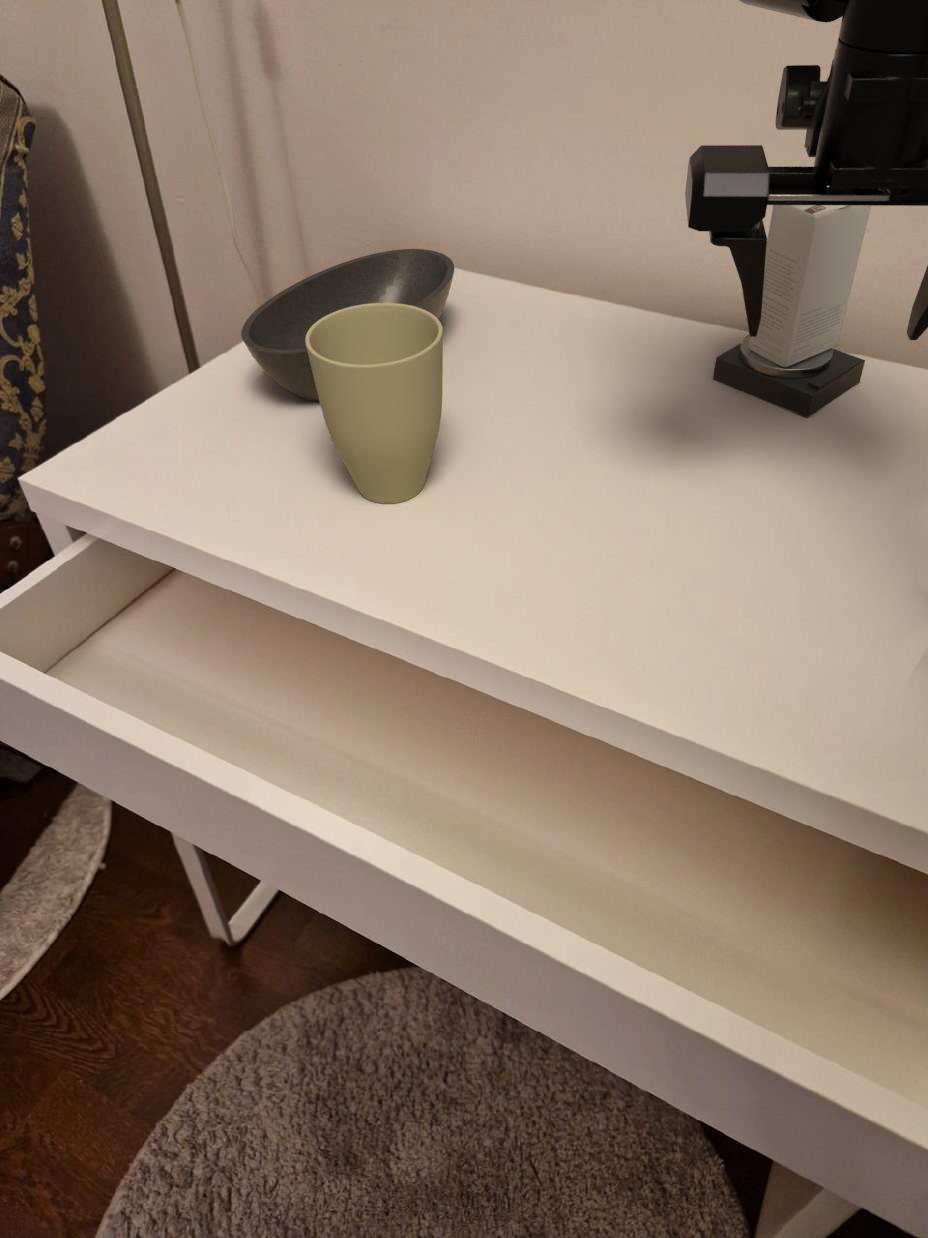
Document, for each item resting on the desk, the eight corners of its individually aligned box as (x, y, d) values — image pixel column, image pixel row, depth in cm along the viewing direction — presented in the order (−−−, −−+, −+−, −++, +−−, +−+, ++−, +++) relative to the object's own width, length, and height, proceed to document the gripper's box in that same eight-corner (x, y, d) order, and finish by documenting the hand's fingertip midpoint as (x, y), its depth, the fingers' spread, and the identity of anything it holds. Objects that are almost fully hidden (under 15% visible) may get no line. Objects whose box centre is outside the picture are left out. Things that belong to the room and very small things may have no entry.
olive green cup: (484, 470, 72) (479, 318, 64) (395, 537, 67) (377, 380, 59) (377, 425, 77) (360, 279, 69) (286, 483, 72) (256, 332, 64)
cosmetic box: (798, 328, 80) (829, 176, 72) (840, 349, 78) (878, 193, 69) (743, 350, 78) (769, 195, 70) (785, 372, 75) (817, 213, 67)
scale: (859, 382, 79) (868, 350, 77) (807, 418, 75) (814, 386, 74) (765, 346, 84) (771, 316, 82) (712, 379, 80) (717, 348, 79)
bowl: (220, 397, 82) (204, 329, 78) (393, 301, 94) (386, 237, 90) (322, 442, 76) (310, 370, 72) (492, 333, 88) (490, 266, 84)
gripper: (1051, -1, 52) (962, 280, 63) (698, 6, 55) (670, 276, 65) (1126, 52, 44) (1009, 364, 55) (708, 58, 46) (674, 356, 57)
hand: (830, 335), depth 58 cm, fingers open, 9 cm apart
